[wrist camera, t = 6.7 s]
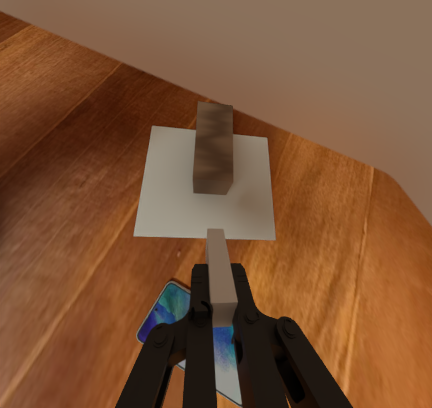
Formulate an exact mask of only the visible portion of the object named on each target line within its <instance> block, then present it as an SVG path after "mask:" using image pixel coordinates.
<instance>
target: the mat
mask: <svg viewBox="0 0 432 408" xmlns="http://www.w3.org/2000/svg"><path fill="white" fill-rule="evenodd" d="M195 137H196V130H189V129H180V128H170V127H161V126H152V130H151V135H150V141H149V147H148V153H147V159H146V165H145V171H144V177H143V183H142V189H141V195H140V200H139V206H138V212H137V218H136V224H135V230H134V236H145V237H179V238H207V228H214V229H224V234H225V239H246V240H276V235H275V223H274V212H273V200H272V188H271V177H270V165H269V153H268V141H267V138H264V137H255V136H245V135H236V134H233V181H234V182H233V184H232V185H231V187H230V189H229V191H228V193H227V194H226V195H215V194H198V193H193V165H194V151H195Z"/></svg>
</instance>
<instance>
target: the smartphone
mask: <svg viewBox="0 0 432 408" xmlns="http://www.w3.org/2000/svg"><path fill="white" fill-rule="evenodd" d="M189 305H190V290H188V289H186V288H185V287H183V286H181V285H180V284H178V283H177V282H175V281H169V282H168V283H167V284H166V285H165V287H164V288H163V290H162V292H161V293H160V295H159V297H158V298H157V300H156V301H155V303H154V305H153V306H152V308H151V310H150V311H149V313H148V314H147V316H146V318H145V319H144V321H143V323H142V324H141V326H140V327H139V329H138V331H137V334H136V337H137V340H138V341H139V342H141V343H142V344H144V342H145V340H146V338H147V336H148V334H149V332H150V331H151V329H152V328H153V327H154V326H155V325H157V324H159V323H168V324H171V323H174V322H176V321H178V320H180V319H182V318H183V317H184V316H185V315H186V313H187V312H188V309H189ZM233 332H234V331H233V324H232V326H231V327H214V328H213V341H214V359H215V377H216V392H217V393H219V394H220V395H222V396H224V397H225V398H227V399H228V400H230V401H231V402H233V403H234V404H236V405H237V406H239V407H242V401H241V394H240V387H239V380H238V373H237V365H236V358H235V351H234V344H231V339H232V335H233ZM185 361H186V359H185V360H184V361H182V362H180V363H178V364H176V366H178V367H179V368H181V369H182V370H184V371H185Z"/></svg>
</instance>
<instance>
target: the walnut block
mask: <svg viewBox="0 0 432 408" xmlns="http://www.w3.org/2000/svg"><path fill="white" fill-rule="evenodd" d="M233 182H234V181H233V106H231V105H223V104H215V103H208V102H200V101H198V108H197V122H196V137H195V151H194V165H193V193H198V194H215V195H226V194H227V193H228V191H229V189H230V187H231V185H232V184H233Z"/></svg>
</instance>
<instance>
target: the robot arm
mask: <svg viewBox="0 0 432 408" xmlns="http://www.w3.org/2000/svg"><path fill="white" fill-rule="evenodd" d="M232 324H233V331H234V332H233V335H232V339H231V344H234V351H235V358H236V365H237V373H238V380H239V387H240V394H241V401H242V408H289V406H288V402H287V399H288V401H289V403H290V406H291V408H353V407H352V405H351V404H350V402H349V401H348V399H347V398H346V396H345V395H344V393H343V392H342V390H341V389H340V387H339V386H338V384H337V383H336V381H335V380H334V378H333V377H332V375H331V374H330V372H329V371H328V369H327V368H326V366H325V365H324V363H323V362H322V360H321V359H320V357H319V356H318V354H317V353H316V351H315V350H314V348H313V347H312V345H311V344H310V342H309V341H308V339H307V338H306V336H305V335H304V333H303V332H302V330H301V329H300V327H299V326H298V325H297V323H296V322H295V321H294V320H292V319H291V318H289V317H286V316H284V317H280V318H279V319H275V318H272V317H269V316H266V315H264V314H263V313H261V312H260V311H259V310H258V309H257V307H256V306H255V303H254V300H253V296H252V293H251V289H250V286H249V282H248V279H247V276H246V272H245V269H244V267H243V266H242V265H241V263H230V260H229V255H228V250H227V245H226V240H225V234H224V229H214V228H207V239H206V264H195V265H194V267H193V269H192V276H191V291H190V305H189V309H188V312H187V313H186V315H185V316H184V317H183V318H182V319H180V320H178V321H176V322H174V323H171V324H168V323H159V324H157V325H155V326H154V327H153V328H152V329H151V331H150V332H149V334H148V336H147V338H146V340H145V342H144V344H143V347H142V349H141V351H140V353H139V355H138V358H137V360H136V362H135V364H134V366H133V369H132V371H131V373H130V375H129V378H128V380H127V382H126V384H125V386H124V389H123V391H122V393H121V395H120V397H119V400H118V402H117V404H116V406H115V408H162V406H163V403H164V399H165V396H166V392H167V389H168V385H169V382H170V378H171V375H172V371H173V368H174V366H175V365H176V364H178V363H180V362H182V361H184V360H185V359H186V361H185V377H184V392H183V407H182V408H217V396H216V377H215V359H214V341H213V328H214V327H231V326H232ZM285 395H286V396H285ZM286 397H287V399H286Z"/></svg>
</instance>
